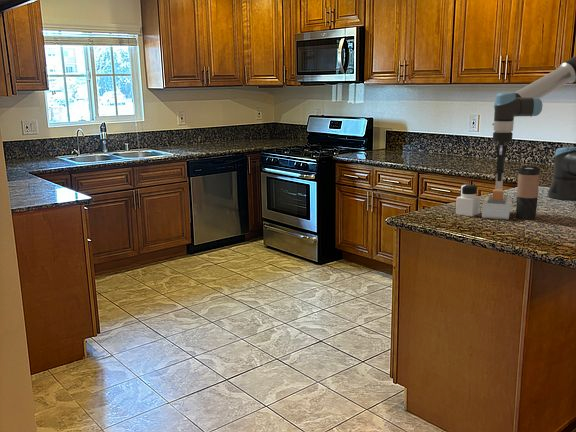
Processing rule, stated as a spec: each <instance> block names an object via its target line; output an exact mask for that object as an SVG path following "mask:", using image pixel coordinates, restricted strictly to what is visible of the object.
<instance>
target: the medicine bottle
mask: <svg viewBox="0 0 576 432" xmlns="http://www.w3.org/2000/svg"><path fill="white" fill-rule="evenodd" d="M477 188H478V186H477V185H474V184H463V185H461V187H460V196H457V197H456V202H455V205H456V207H455V214H456V215H458V216H464V217H465V216H466V217H474V216H477V215H480V210H481V207H480V206H481V196H478V195H477V193H478V192H477Z"/></svg>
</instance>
